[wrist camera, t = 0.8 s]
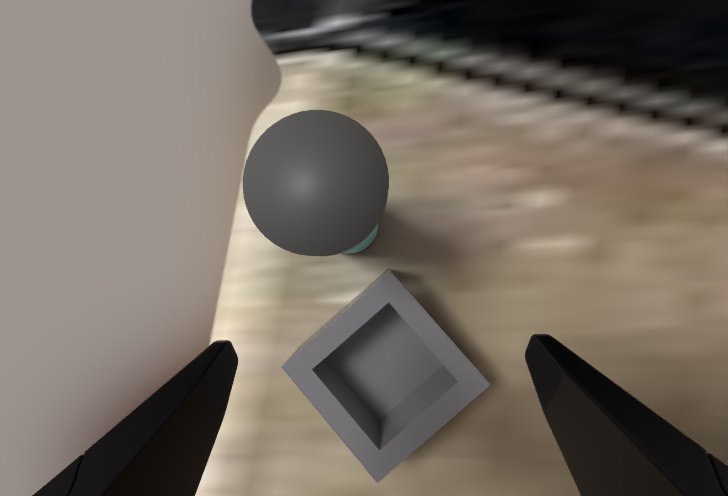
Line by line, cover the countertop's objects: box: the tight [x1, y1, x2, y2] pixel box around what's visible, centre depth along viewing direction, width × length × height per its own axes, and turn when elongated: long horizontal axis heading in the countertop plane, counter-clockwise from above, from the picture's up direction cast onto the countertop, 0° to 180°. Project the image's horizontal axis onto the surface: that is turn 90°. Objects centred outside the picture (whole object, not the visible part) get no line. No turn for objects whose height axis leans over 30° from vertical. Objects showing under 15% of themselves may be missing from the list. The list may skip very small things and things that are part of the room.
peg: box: [243, 110, 389, 256], centre depth 17 cm, size 6×6×13 cm
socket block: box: [282, 269, 490, 483], centre depth 21 cm, size 10×10×4 cm
